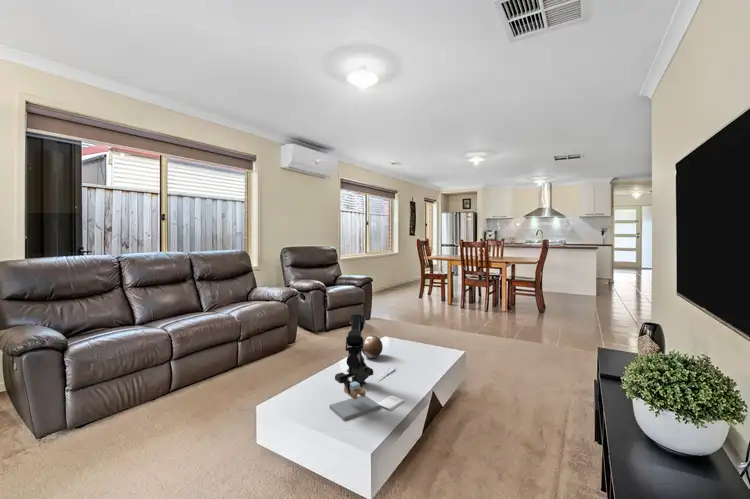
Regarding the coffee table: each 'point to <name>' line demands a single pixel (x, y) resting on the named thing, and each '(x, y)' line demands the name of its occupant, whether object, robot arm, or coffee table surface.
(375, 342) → the wooden sphere
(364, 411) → the slate dock
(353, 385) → the pale blue square block
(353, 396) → the board
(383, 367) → the coffee table surface
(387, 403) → the external hard drive
